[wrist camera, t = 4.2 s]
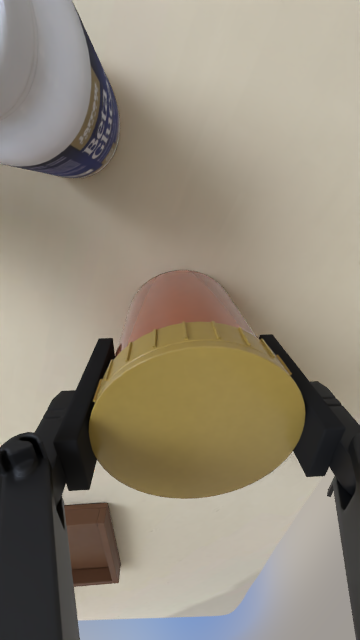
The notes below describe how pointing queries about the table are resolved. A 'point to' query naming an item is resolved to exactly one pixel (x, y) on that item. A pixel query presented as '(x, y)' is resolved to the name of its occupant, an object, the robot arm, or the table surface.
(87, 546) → the tray
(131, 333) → the jar
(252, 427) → the lid
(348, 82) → the table surface
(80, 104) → the pill bottle
